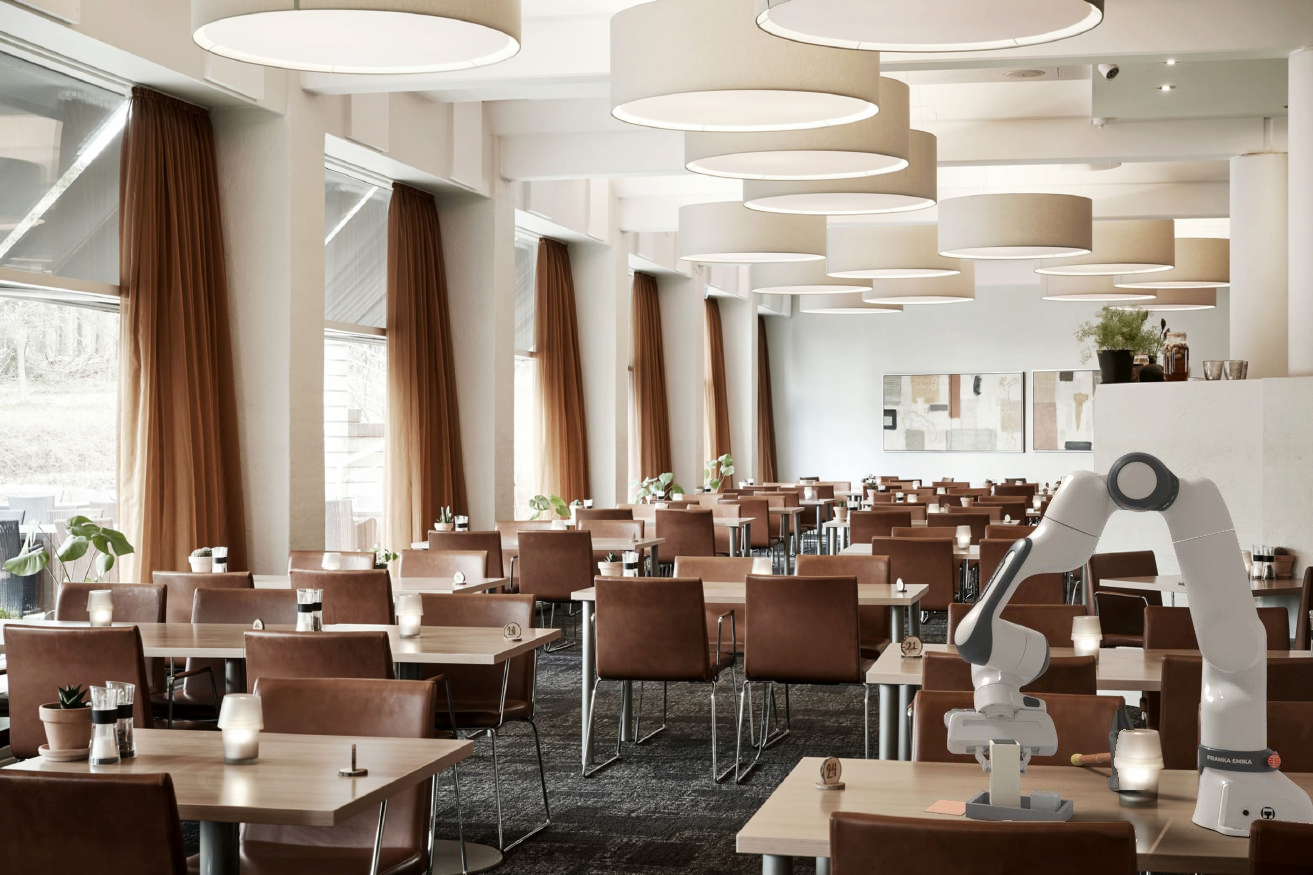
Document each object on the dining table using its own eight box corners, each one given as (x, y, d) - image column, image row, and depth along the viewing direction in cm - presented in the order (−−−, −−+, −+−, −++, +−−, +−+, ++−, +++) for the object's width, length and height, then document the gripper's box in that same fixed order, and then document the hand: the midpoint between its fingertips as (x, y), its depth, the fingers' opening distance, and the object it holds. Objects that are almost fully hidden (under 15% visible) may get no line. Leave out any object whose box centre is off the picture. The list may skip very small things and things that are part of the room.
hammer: (1086, 718, 311) (1140, 709, 282) (1092, 791, 307) (1148, 790, 278) (1060, 718, 311) (1111, 709, 282) (1065, 791, 307) (1119, 790, 278)
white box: (1017, 803, 261) (1016, 739, 262) (1020, 809, 256) (1019, 743, 257) (989, 803, 262) (989, 738, 262) (992, 809, 257) (992, 743, 257)
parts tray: (1073, 816, 259) (1073, 800, 259) (1060, 830, 249) (1060, 813, 249) (981, 806, 267) (981, 790, 267) (965, 819, 256) (965, 803, 256)
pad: (976, 806, 267) (976, 803, 267) (960, 818, 257) (960, 815, 257) (940, 802, 270) (940, 799, 270) (923, 814, 260) (923, 810, 260)
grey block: (1060, 817, 257) (1060, 792, 257) (1055, 822, 253) (1055, 797, 253) (1035, 814, 259) (1035, 790, 259) (1030, 819, 255) (1030, 794, 255)
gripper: (944, 699, 268) (948, 760, 258) (1053, 700, 265) (1062, 762, 255) (942, 718, 272) (947, 779, 262) (1050, 720, 270) (1059, 782, 260)
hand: (1005, 771), depth 259 cm, fingers closed on white box, 5 cm apart
